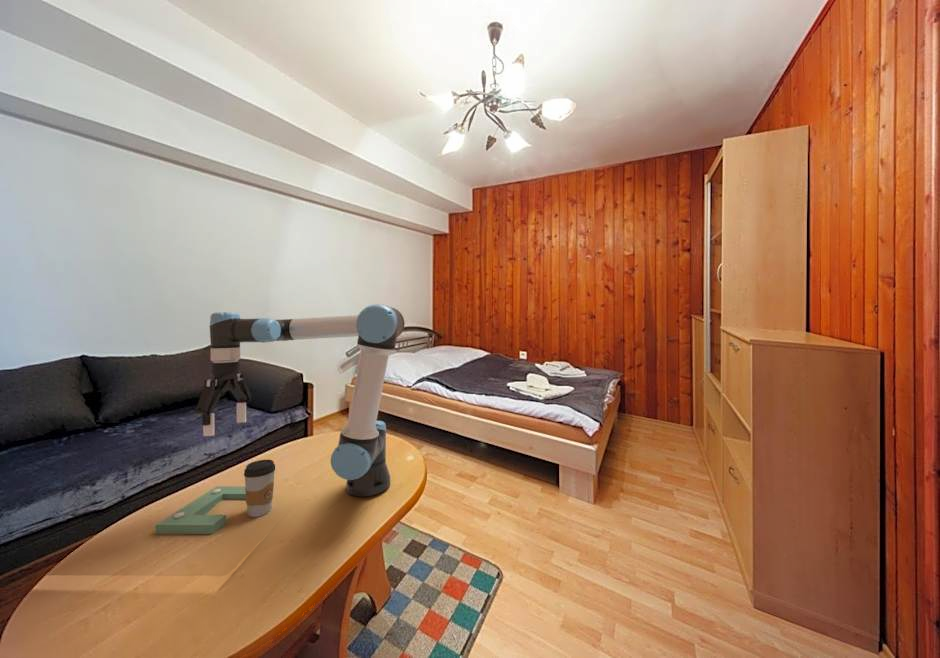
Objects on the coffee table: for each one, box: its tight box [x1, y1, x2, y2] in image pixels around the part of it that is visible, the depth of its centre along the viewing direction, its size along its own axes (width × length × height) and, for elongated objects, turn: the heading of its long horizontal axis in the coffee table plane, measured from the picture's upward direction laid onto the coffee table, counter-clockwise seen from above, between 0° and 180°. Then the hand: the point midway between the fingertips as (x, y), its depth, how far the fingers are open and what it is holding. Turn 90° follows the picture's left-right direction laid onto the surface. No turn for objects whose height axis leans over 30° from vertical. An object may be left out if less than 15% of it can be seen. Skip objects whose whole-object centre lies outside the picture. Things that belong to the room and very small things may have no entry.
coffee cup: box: [243, 459, 276, 518], centre depth 101 cm, size 8×8×15 cm
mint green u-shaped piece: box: [155, 486, 246, 535], centre depth 101 cm, size 16×22×3 cm
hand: (226, 428), depth 102 cm, fingers open, 13 cm apart
